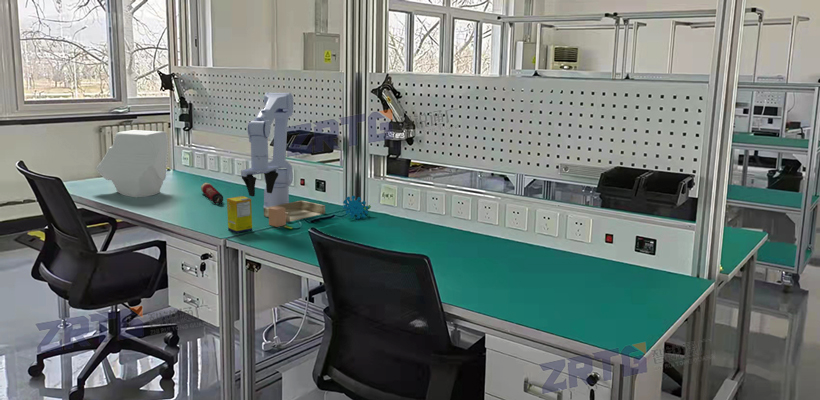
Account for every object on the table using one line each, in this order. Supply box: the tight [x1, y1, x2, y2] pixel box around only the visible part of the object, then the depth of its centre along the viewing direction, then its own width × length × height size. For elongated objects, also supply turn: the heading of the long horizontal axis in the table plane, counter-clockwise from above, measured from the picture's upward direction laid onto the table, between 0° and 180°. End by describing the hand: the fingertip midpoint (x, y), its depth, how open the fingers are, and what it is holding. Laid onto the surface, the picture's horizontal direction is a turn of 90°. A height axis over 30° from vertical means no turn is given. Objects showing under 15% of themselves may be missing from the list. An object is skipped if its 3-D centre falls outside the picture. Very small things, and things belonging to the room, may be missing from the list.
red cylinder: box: [200, 182, 224, 205], centre depth 261 cm, size 5×5×30 cm
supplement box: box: [226, 195, 253, 234], centre depth 212 cm, size 6×6×11 cm
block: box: [268, 206, 287, 228], centre depth 219 cm, size 4×4×6 cm
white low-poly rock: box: [95, 129, 169, 198], centre depth 269 cm, size 21×27×26 cm
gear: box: [342, 195, 372, 220], centre depth 236 cm, size 11×6×10 cm
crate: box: [263, 199, 326, 223], centre depth 234 cm, size 13×18×4 cm
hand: (260, 194), depth 223 cm, fingers open, 7 cm apart
